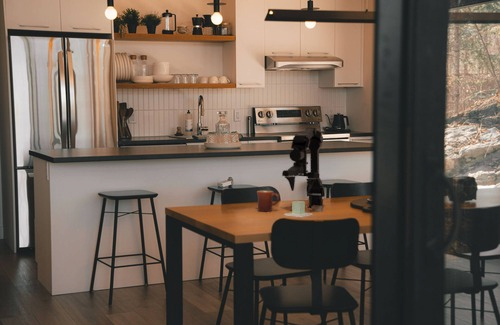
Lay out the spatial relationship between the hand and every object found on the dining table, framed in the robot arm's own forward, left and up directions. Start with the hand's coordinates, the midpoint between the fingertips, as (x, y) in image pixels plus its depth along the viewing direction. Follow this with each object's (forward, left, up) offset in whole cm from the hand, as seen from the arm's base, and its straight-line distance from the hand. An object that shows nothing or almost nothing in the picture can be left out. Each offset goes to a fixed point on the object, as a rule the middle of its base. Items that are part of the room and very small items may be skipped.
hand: (300, 191), depth 351 cm
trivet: (0, -1, -12) cm, 12 cm away
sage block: (0, -1, -11) cm, 11 cm away
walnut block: (0, +17, -12) cm, 21 cm away
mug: (-19, -1, -12) cm, 23 cm away
